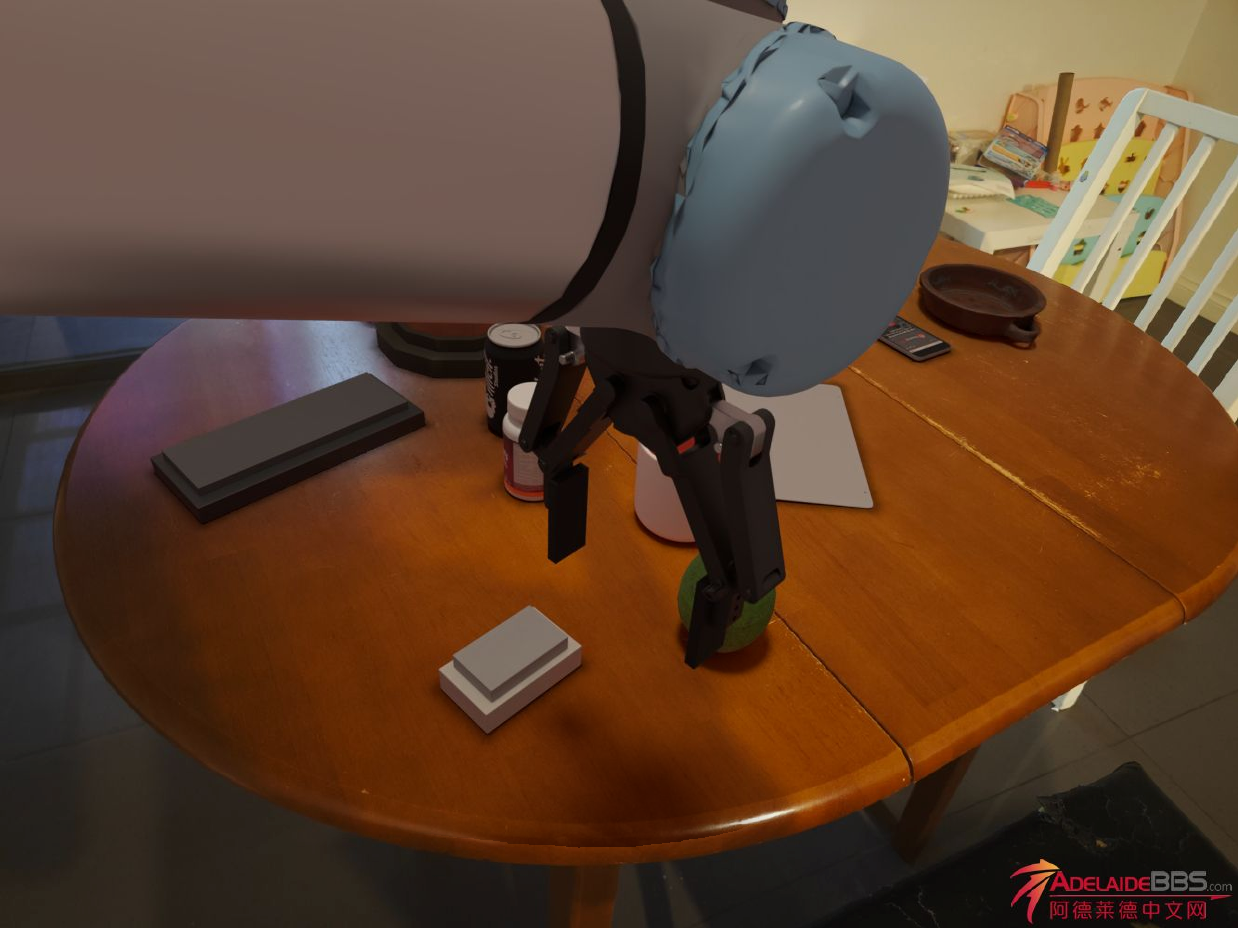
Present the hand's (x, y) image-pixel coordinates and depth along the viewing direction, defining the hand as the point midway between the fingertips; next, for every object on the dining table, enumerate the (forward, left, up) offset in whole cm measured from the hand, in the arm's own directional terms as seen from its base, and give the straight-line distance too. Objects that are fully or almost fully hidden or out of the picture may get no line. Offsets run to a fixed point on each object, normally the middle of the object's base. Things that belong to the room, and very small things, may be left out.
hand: (631, 599), depth 53 cm
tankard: (+31, +62, -18) cm, 72 cm away
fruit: (+16, +3, -18) cm, 25 cm away
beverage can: (+24, +40, -18) cm, 50 cm away
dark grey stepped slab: (+3, +52, -18) cm, 55 cm away
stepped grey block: (0, +12, -18) cm, 22 cm away
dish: (+95, +17, -18) cm, 98 cm away
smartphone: (+80, +22, -18) cm, 85 cm away
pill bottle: (+18, +30, -18) cm, 40 cm away
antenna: (+44, +20, -18) cm, 52 cm away
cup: (+26, +16, -18) cm, 36 cm away
